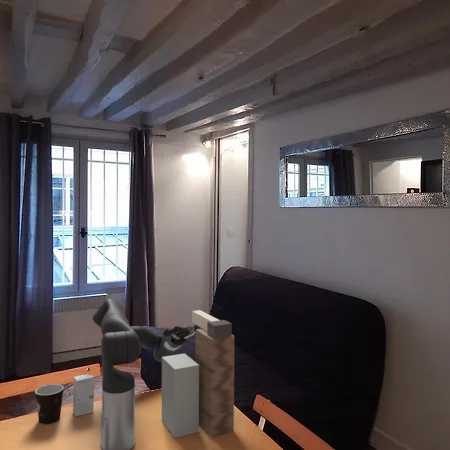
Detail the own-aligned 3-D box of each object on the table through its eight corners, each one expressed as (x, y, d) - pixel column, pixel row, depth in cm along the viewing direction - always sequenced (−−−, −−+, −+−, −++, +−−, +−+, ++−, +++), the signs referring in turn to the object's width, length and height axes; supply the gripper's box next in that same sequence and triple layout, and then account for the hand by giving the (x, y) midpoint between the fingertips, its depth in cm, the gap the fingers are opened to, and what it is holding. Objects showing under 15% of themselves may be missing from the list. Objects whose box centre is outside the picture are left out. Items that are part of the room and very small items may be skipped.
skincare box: (75, 417, 137) (75, 381, 136) (72, 411, 140) (72, 376, 140) (94, 412, 140) (94, 377, 140) (90, 407, 144) (90, 372, 143)
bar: (214, 338, 124) (214, 325, 124) (188, 322, 143) (188, 311, 143) (231, 336, 127) (231, 323, 127) (203, 320, 146) (203, 309, 146)
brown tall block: (210, 437, 125) (211, 339, 124) (195, 419, 135) (195, 329, 135) (233, 431, 128) (234, 335, 128) (216, 414, 139) (217, 326, 138)
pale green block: (174, 438, 124) (174, 369, 124) (161, 420, 135) (161, 357, 134) (198, 431, 128) (199, 365, 127) (184, 415, 138) (184, 353, 138)
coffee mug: (37, 415, 138) (37, 385, 137) (64, 411, 140) (64, 382, 140) (31, 432, 126) (31, 400, 126) (61, 428, 129) (61, 397, 129)
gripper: (156, 331, 162) (168, 319, 149) (189, 327, 168) (204, 315, 156) (159, 350, 158) (171, 339, 146) (193, 345, 165) (208, 334, 152)
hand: (188, 327), depth 151 cm, fingers open, 8 cm apart
